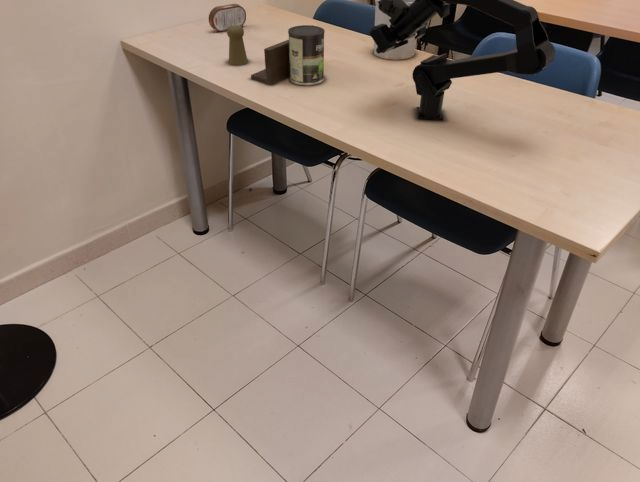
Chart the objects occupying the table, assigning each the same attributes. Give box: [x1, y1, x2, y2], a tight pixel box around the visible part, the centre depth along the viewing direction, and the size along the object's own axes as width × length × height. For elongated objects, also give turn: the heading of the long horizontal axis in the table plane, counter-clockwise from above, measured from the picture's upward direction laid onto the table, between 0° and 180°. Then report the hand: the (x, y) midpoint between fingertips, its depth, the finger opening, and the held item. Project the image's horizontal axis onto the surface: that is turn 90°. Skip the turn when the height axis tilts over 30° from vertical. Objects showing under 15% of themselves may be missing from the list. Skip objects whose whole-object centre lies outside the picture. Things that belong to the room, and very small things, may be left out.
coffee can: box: [287, 24, 326, 86], centre depth 145 cm, size 10×10×14 cm
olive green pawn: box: [226, 25, 249, 66], centre depth 158 cm, size 6×6×11 cm
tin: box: [208, 3, 247, 32], centre depth 186 cm, size 15×3×8 cm, turn 130°
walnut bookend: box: [250, 39, 290, 86], centre depth 151 cm, size 8×20×10 cm, turn 143°
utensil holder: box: [373, 0, 418, 61], centre depth 163 cm, size 15×15×18 cm
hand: (377, 51), depth 131 cm, fingers closed
